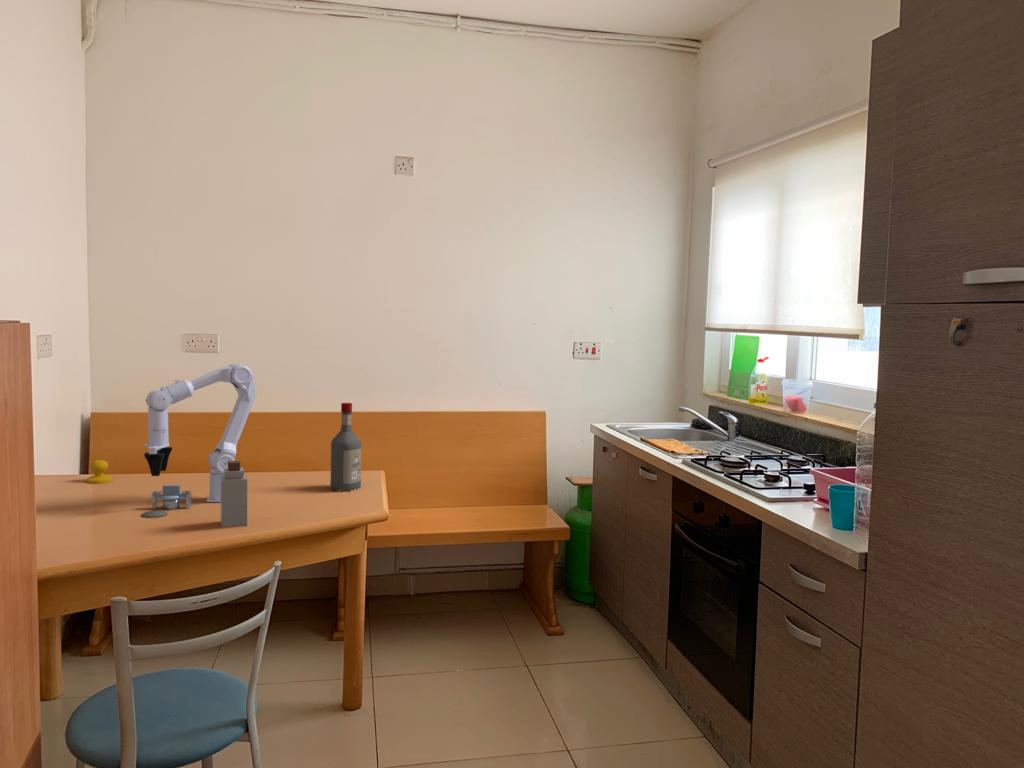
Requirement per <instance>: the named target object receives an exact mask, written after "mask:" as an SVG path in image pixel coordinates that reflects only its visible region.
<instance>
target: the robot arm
mask: <svg viewBox="0 0 1024 768" xmlns="http://www.w3.org/2000/svg"><path fill="white" fill-rule="evenodd" d="M219 382H224V383H230V384H231V385H232V386H233V387H234V389H235V391H236V393H237V394H238V396H237V398H236V401H235V404H234V406H233V409H232V411H231V414H230V417H229V419H228V421H227V424H226V426H225V429H224V430H223V432H222V433H223V434H222V436H221V439H220V441H219V442H218V443H217V444H216V446H215V448H214V450H213V451H211V452H210V453H209V455H208V458H207V461H208V464H209V466H210V467H211V469H210V470H209V497H208V498H207V500H206V501H205V502H206V503H221V476H225V474H224V469H223V468H228V461H236V459H235V458H236V455H237V445H238V442H239V440H240V437H241V435H242V433H243V430H244V428H245V425H246V422H247V420H248V417H249V414H250V412H251V411H252V410H251V409H252V407H253V405H254V402H255V400H256V397H257V389H256V382H255V375H254V374H253V371H252V370H251V369H250V368H249V366H247V365H243V364H239V363H235V362H234V363H231V364H229V365H224V366H221V367H219V368H216V369H214V370H212V371H210V372H207V373H205V374H203V375H200V376H199V377H196V378H194V379H192V380H190V381H189V380H187V379H176V380H175V382H174V383H172V384H169V385H166V386H160V387H159V390H158V389H156V390H152V391H150V392H148V394H147V395H146V399H145V403H146V405H147V409H148V410H147V411H148V412H147V413H148V414H147V435H148V436H147V439H148V440H147V441H148V442H147V443H144V444H143V446H144V447H146V448H148V452H145V453H144V454H143V456H144V458H145V460H146V461H147V464H148V467H149V470H150V475H151V476H152V477H160V475H161V472H166V471H167V467H168V463H169V458H170V455H171V452H172V450H173V447H172V446H170V443H169V436H170V435H169V434H170V433H169V412H168V408H169V407H170V405H174V404H176V403H179V402H181V401H183V400H186V399H188V398H191V397H192V396H193V394H194V393H195V391H197V390H199V389H203V388H205V387H207V386H211V385H213V384H216V383H219Z"/></svg>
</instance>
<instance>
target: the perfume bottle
mask: <svg viewBox="0 0 1024 768" xmlns="http://www.w3.org/2000/svg"><path fill="white" fill-rule="evenodd" d="M223 469H224V474H225V476H221V502H220V524H221V528H222V529H223V528H235V527H247V526H248V478H247V475H246V474H245V469H244V467H242V466H241V461H240V460H235V461H228V468H223Z"/></svg>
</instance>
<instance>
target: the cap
mask: <svg viewBox="0 0 1024 768" xmlns="http://www.w3.org/2000/svg"><path fill="white" fill-rule="evenodd" d="M161 489H162V494H160V495H157V500H162V501H163V500H178V499H180V500H186V495H181V484H163V485H162V488H161Z"/></svg>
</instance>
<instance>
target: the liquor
mask: <svg viewBox="0 0 1024 768" xmlns="http://www.w3.org/2000/svg"><path fill="white" fill-rule="evenodd" d="M340 405H341V406H340V407H341V408H340V410H341V411H340V412H341V424H340V425H341V426H340V430H339V432H338V433H337V434H336V435H335V436H334V437H333V438H332V439H331V442H330V476H329V479H330V481H329V483H330V484H329V485H330V488H331V490H332V489H335V490H334V491H336V490H341V491H340V492H342V491H348V492H352V491H351V490H354V489H357V490H359V489H358V488H361V486H362V482H361V481H362V442H361V439H360V438H359V437H358V436H357V435H356V434H355V432H354V431H353V428H352V413H353V403H352V402H341V403H340ZM354 491H355V490H354Z"/></svg>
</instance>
